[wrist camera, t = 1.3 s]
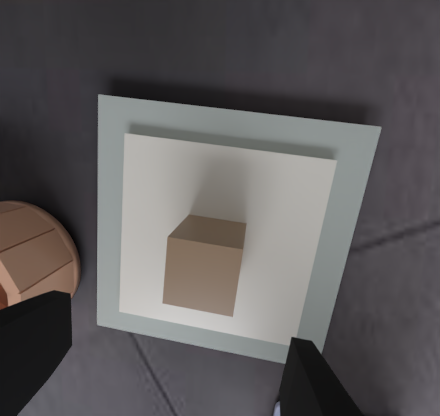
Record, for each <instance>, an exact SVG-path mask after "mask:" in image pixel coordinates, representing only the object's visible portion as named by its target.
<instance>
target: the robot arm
mask: <svg viewBox="0 0 440 416" xmlns="http://www.w3.org/2000/svg"><path fill="white" fill-rule="evenodd" d="M71 346H72V324H71V293H66V292H61V291H56V290H53V291H49V292H46V293H43V294H40V295H37V296H35V297H32V298H29V299H27V300H24V301H21V302H19V303H16V304H13V305H11V306H8V307H6V308H3V309H1V310H0V416H17V415H18V414H19V412H20V411H21V410H22V409H23V408H24V407H25V406H26V404H27V403H28V402H29V401H30V400H31V399H32V397H33V396H34V395H35V394H36V393H37V392H38V390H39V389H40V388H41V387H42V386H43V385H44V383H45V382H46V381H47V380H48V379H49V377H50V376H51V375H52V373H53V372H54V371H55V369H56V368H57V366H58V365H59V364H60V362H61V361H62V359H63V358H64V356H65V355H66V353H67V352H68V350H69V349H70V347H71ZM279 391H280V401H279V402H277V403H276V405H275V409H274V413H273V416H364V415H363V414H362V413H361V411H360V410H359V408H358V407H357V406H356V404H355V403H354V401H353V400H352V399H351V397H350V396H349V394H348V393H347V392H346V390H345V389H344V387H343V386H342V384H341V383H340V381H339V380H338V378H337V377H336V375H335V374H334V373H333V371H332V370H331V368H330V367H329V365H328V364H327V362H326V361H325V359H324V358H323V356H322V355H321V353H320V352H319V350H318V349H317V347H316V346H315V344H314V343H313V341H311V340H306V339H301V338H295V337H291V341H290V346H289V350H288V355H287V359H286V364H285V368H284V372H283V377H282V381H281V386H280V390H279Z"/></svg>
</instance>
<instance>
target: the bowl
mask: <svg viewBox="0 0 440 416" xmlns="http://www.w3.org/2000/svg"><path fill="white" fill-rule="evenodd" d="M80 278H81V263H80V258H79V254H78V251H77V248H76V246H75V244H74V242H73V240H72V238H71V236H70V235H69V233H68V232H67V230H66V229H65V228H64V227H63V225H62V224H61V223H60V222H59V221H58V220H57V219H56V218H54V217H53V216H52V215H51V214H49V213H48V212H46V211H45V210H43V209H41V208H39V207H38V206H35V205H33V204H30V203H27V202H23V201H15V200H8V201H1V202H0V310H1V309H3V308H6V307H8V306H11V305H13V304H16V303H19V302H21V301H24V300H27V299H29V298H32V297H35V296H37V295H40V294H43V293H46V292H49V291H53V290H56V291H61V292H66V293H71V299H72V298H73V296H74V295H75V293H76V291H77V289H78V286H79V283H80Z"/></svg>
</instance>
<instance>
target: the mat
mask: <svg viewBox="0 0 440 416" xmlns="http://www.w3.org/2000/svg"><path fill="white" fill-rule="evenodd" d="M381 128H382V127H378V126H369V125H361V124H352V123H343V122H334V121H326V120H317V119H308V118H300V117H291V116H282V115H273V114H265V113H256V112H247V111H239V110H230V109H221V108H212V107H204V106H195V105H186V104H177V103H169V102H160V101H151V100H143V99H134V98H125V97H116V96H108V95H99V94H98V231H97V325H100V326H105V327H110V328H114V329H119V330H124V331H129V332H134V333H138V334H143V335H148V336H153V337H158V338H163V339H167V340H172V341H177V342H182V343H187V344H192V345H196V346H201V347H206V348H211V349H216V350H220V351H225V352H230V353H235V354H240V355H245V356H249V357H254V358H259V359H264V360H269V361H273V362H278V363H283V364H286V359H287V355H288V350H289V346H288V345H283V344H278V343H273V342H268V341H263V340H258V339H253V338H248V337H243V336H238V335H233V334H228V333H223V332H218V331H213V330H208V329H203V328H198V327H193V326H188V325H183V324H178V323H173V322H168V321H163V320H158V319H153V318H148V317H143V316H138V315H133V314H128V313H123V312H119V299H120V266H121V232H122V198H123V165H124V133H129V134H137V135H145V136H152V137H160V138H168V139H176V140H183V141H191V142H199V143H207V144H214V145H222V146H230V147H238V148H245V149H253V150H261V151H269V152H277V153H284V154H292V155H300V156H308V157H315V158H323V159H331V160H337V164H336V169H335V173H334V177H333V182H332V186H331V190H330V195H329V199H328V203H327V208H326V212H325V216H324V220H323V225H322V229H321V233H320V238H319V242H318V246H317V251H316V255H315V259H314V264H313V268H312V272H311V277H310V281H309V285H308V290H307V294H306V298H305V303H304V307H303V311H302V315H301V320H300V324H299V328H298V333H297V337H296V338H301V339H306V340H311V341H313V343H314V344H315V346H316V347H317V349H318V350H319V352H320V353H321V354H322V350H323V346H324V343H325V339H326V335H327V331H328V328H329V324H330V320H331V316H332V312H333V309H334V305H335V301H336V297H337V294H338V290H339V286H340V282H341V279H342V275H343V271H344V267H345V263H346V260H347V256H348V252H349V248H350V245H351V241H352V237H353V233H354V229H355V226H356V222H357V218H358V214H359V211H360V207H361V203H362V199H363V195H364V192H365V188H366V184H367V180H368V177H369V173H370V169H371V165H372V161H373V158H374V154H375V150H376V146H377V143H378V139H379V135H380V131H381Z"/></svg>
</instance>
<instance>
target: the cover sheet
mask: <svg viewBox="0 0 440 416" xmlns="http://www.w3.org/2000/svg"><path fill="white" fill-rule="evenodd" d="M336 164H337V160H331V159H323V158H315V157H308V156H300V155H292V154H284V153H277V152H269V151H261V150H253V149H245V148H238V147H230V146H222V145H214V144H207V143H199V142H191V141H183V140H176V139H168V138H160V137H152V136H145V135H137V134H129V133H124V165H123V198H122V232H121V266H120V299H119V312H123V313H128V314H133V315H138V316H143V317H148V318H153V319H158V320H163V321H168V322H173V323H178V324H183V325H188V326H193V327H198V328H203V329H208V330H213V331H218V332H223V333H228V334H233V335H238V336H243V337H248V338H253V339H258V340H263V341H268V342H273V343H278V344H283V345H288V346H290V341H291V337H295V338H296V337H297V333H298V328H299V324H300V320H301V315H302V311H303V307H304V303H305V298H306V294H307V290H308V285H309V281H310V277H311V272H312V268H313V264H314V259H315V255H316V251H317V246H318V242H319V238H320V233H321V229H322V225H323V220H324V216H325V212H326V208H327V203H328V199H329V195H330V190H331V186H332V182H333V177H334V173H335V169H336Z"/></svg>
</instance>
